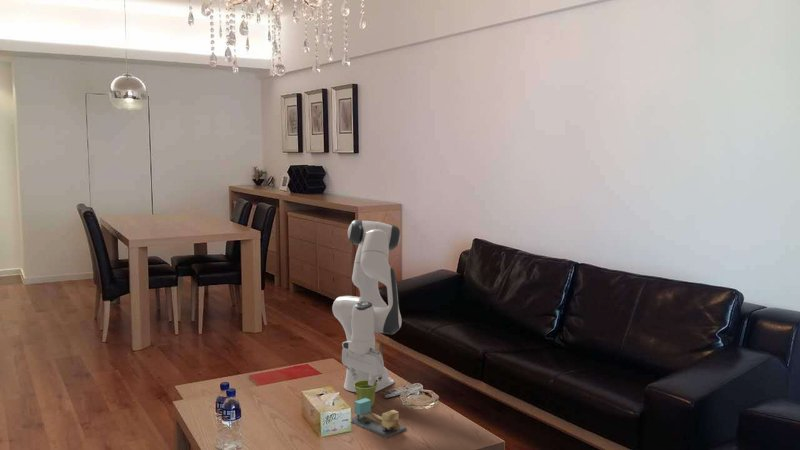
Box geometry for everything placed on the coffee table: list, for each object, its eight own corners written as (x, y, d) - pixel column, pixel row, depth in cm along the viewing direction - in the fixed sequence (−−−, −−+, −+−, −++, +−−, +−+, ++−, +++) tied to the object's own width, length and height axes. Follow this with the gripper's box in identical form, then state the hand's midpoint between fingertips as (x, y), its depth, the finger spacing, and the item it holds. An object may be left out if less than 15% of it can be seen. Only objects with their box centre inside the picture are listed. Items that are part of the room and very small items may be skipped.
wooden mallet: (365, 413, 256) (365, 398, 255) (400, 428, 242) (400, 412, 242) (354, 417, 252) (354, 402, 251) (389, 433, 238) (389, 416, 238)
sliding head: (365, 413, 256) (365, 397, 255) (370, 415, 254) (370, 400, 253) (354, 417, 252) (354, 401, 251) (359, 419, 250) (359, 403, 249)
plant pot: (349, 407, 264) (349, 386, 264) (360, 399, 273) (359, 378, 272) (371, 411, 261) (371, 389, 260) (381, 402, 270) (381, 381, 269)
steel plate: (369, 414, 258) (369, 411, 258) (406, 429, 244) (406, 426, 244) (349, 421, 251) (349, 418, 251) (386, 438, 237) (386, 435, 237)
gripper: (388, 350, 244) (387, 387, 246) (351, 339, 259) (351, 374, 260) (375, 353, 240) (375, 391, 241) (339, 342, 255) (338, 377, 256)
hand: (362, 382), depth 251 cm, fingers open, 8 cm apart
